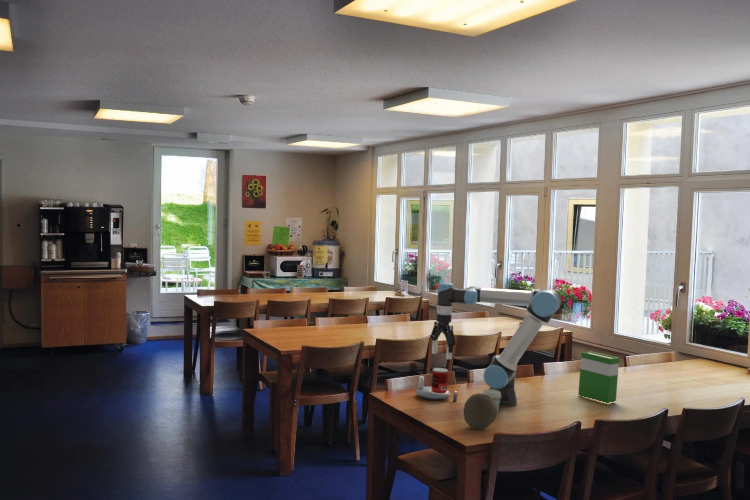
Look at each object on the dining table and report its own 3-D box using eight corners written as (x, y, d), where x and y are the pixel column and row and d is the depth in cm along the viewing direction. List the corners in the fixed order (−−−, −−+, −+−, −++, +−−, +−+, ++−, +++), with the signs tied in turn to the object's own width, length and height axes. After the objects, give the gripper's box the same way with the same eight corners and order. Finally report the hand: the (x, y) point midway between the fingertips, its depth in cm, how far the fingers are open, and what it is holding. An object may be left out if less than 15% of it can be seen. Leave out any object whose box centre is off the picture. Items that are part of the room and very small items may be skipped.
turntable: (452, 391, 331) (453, 377, 331) (450, 400, 315) (451, 385, 314) (418, 388, 335) (419, 373, 334) (414, 396, 318) (415, 381, 318)
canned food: (448, 390, 326) (449, 369, 326) (444, 394, 319) (445, 372, 318) (433, 388, 329) (434, 367, 328) (429, 392, 321) (430, 370, 321)
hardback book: (578, 396, 346) (581, 352, 345) (586, 394, 350) (589, 351, 349) (607, 405, 332) (611, 358, 331) (615, 403, 336) (619, 357, 335)
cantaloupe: (484, 436, 270) (486, 401, 269) (456, 427, 279) (458, 393, 279) (501, 429, 280) (504, 395, 280) (474, 421, 290) (476, 388, 289)
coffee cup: (479, 413, 302) (480, 388, 302) (496, 414, 303) (498, 389, 302) (483, 419, 294) (485, 393, 293) (501, 420, 294) (503, 394, 294)
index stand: (457, 401, 321) (458, 391, 320) (444, 405, 313) (445, 394, 313) (431, 393, 332) (432, 383, 332) (418, 397, 325) (419, 386, 325)
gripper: (425, 310, 331) (422, 351, 332) (451, 317, 309) (448, 361, 310) (437, 310, 335) (435, 350, 335) (464, 317, 312) (461, 361, 313)
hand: (441, 356), depth 323 cm, fingers open, 13 cm apart
